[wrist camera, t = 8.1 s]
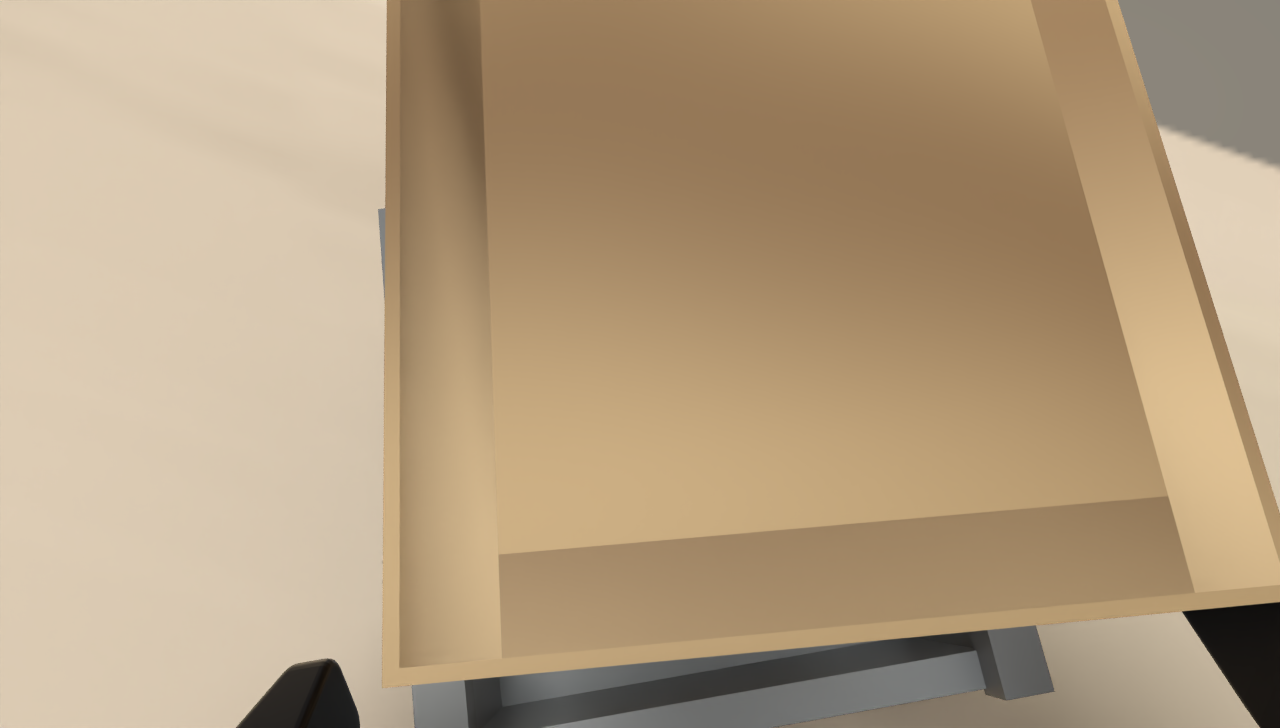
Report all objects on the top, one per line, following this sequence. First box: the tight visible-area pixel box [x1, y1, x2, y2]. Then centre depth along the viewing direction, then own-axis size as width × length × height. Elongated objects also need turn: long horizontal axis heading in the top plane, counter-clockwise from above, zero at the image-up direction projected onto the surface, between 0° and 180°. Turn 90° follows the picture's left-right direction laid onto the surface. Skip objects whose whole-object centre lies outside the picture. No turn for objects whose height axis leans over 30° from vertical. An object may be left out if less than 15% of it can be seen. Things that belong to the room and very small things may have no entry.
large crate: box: [378, 208, 1055, 728], centre depth 15 cm, size 10×10×5 cm
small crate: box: [382, 0, 1280, 688], centre depth 11 cm, size 6×6×12 cm
